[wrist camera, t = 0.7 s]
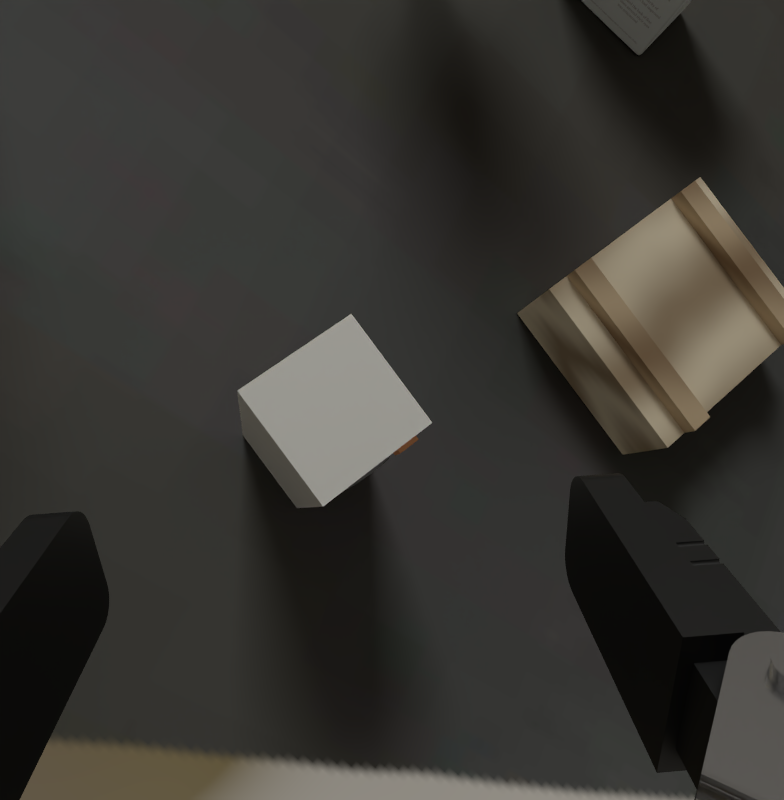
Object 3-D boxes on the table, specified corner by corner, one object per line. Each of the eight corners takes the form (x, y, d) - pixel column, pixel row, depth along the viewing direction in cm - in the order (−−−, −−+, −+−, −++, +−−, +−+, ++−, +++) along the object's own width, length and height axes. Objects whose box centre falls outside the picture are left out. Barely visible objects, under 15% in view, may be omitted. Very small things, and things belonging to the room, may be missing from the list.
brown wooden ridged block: (516, 313, 35) (556, 283, 31) (655, 210, 39) (710, 169, 34) (622, 454, 35) (678, 446, 31) (752, 339, 39) (820, 315, 34)
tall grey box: (242, 435, 31) (237, 390, 19) (315, 384, 32) (351, 313, 21) (299, 511, 31) (326, 511, 19) (370, 457, 32) (435, 427, 21)
